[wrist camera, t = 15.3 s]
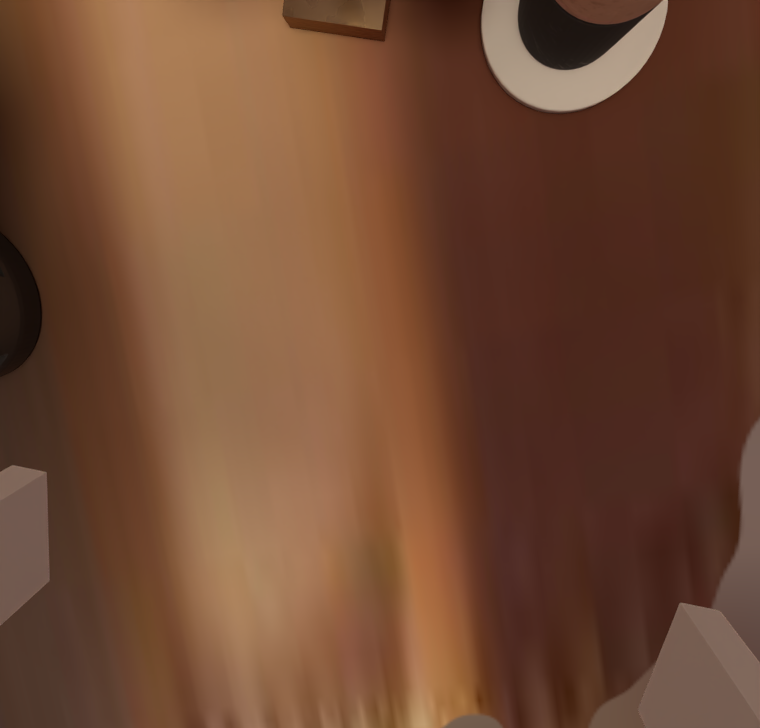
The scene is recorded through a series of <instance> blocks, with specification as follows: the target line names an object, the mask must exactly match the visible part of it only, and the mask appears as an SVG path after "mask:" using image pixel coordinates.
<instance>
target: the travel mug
mask: <svg viewBox="0 0 760 728" xmlns="http://www.w3.org/2000/svg"><path fill="white" fill-rule="evenodd" d="M662 1H663V0H520V1H519V7H518V28H519V32H520V36H521V39H522V41H523V44H524V45H525V47H526V49H527V50H528V52H529V53H530V54H531V55H532V56H533V57H534V59H536V60H537V61H538V62H540V63H541V64H543V65H545V66H547V67H550V68H553V69H558V70H572V69H577V68H581V67H584V66H586V65H588V64H590V63H592V62H594V61H595V60H597V59H598V58H600V57H601V56H602V55H604V54H605V53H606V52H607V51H608V50H609V49H610V48H612V47H613V46H614V45H615V44H616V43H617V42H618V41H619V40H620V39H622V38H623V37H624V36H625V35H626V34H627V33H628V32H629V31H630V30H631V29H632V28H634V27H635V26H636V25H637V24H638V23H639V22H640V21H641V20H642V19H643V18H644V17H646V16H647V15H648V14H649V13H650V12H651V11H652V10H653V9H654V8H655V7H656V6H657V5H659V4H660V3H661V2H662Z"/></svg>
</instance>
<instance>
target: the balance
mask: <svg viewBox="0 0 760 728" xmlns="http://www.w3.org/2000/svg"><path fill="white" fill-rule="evenodd" d="M389 6H390V0H284V5H283V17H284V19H285V20H286V22H287V23H288V24H289V26H290V27H291V28H298V29H305V30H311V31H318V32H325V33H332V34H338V35H345V36H352V37H359V38H366V39H372V40H379V41H384V40H385V33H386V26H387V20H388V13H389Z"/></svg>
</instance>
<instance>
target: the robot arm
mask: <svg viewBox="0 0 760 728" xmlns="http://www.w3.org/2000/svg"><path fill="white" fill-rule="evenodd" d="M40 321H41V310H40V301H39V296H38V292H37V288H36V285H35V282H34V280H33V277H32V275H31V273H30V271H29V269H28V267H27V265H26V263H25V262H24V260H23V258H22V257H21V256H20V254H19V253H18V251H17V250H16V249H15V248H14V247H13V245H12V244H11V243H10V242H9V241H8V240H7V239H6V238H5V237H4V236H3V235H1V234H0V376H2V375H5V374H7V373H9V372H11V371H13V370H14V369H16V368H17V367H18V366H20V365H21V364H22V363H23V362H24V361H25V360H26V358H27V357H28V356H29V354H30V353H31V351H32V349H33V348H34V345H35V343H36V341H37V338H38V334H39V329H40ZM49 581H50V580H49V541H48V503H47V472H43V471H39V470H34V469H29V468H24V467H19V466H14V465H12V466H10V467H8V468H6V469H5V470H3V471H1V472H0V625H1V624H2V623H4V622H5V621H6V620H7V619H8V618H9V617H10V616H11V615H12V614H14V613H15V612H16V611H17V610H18V609H19V608H20V607H21V606H22V605H23V604H25V603H26V602H27V601H28V600H29V599H30V598H31V597H32V596H33V595H34V594H36V593H37V592H38V591H39V590H40V589H41V588H42V587H43V586H44V585H46V584H47V583H48V582H49ZM638 712H639V714H640V717H641V719H642V721H643V724H644V726H645V728H760V662H759V661H758V660H757V659H756V657H755V656H754V655H753V653H752V652H751V651H750V649H749V648H748V647H747V645H746V644H745V643H744V641H743V640H742V639H741V638H740V636H739V635H738V634H737V632H736V631H735V630H734V628H733V627H732V626H731V625H730V623H729V622H728V620H727V619H726V618H725V617H724V615H723V614H722V613H721V611H719V610H714V609H709V608H704V607H699V606H695V605H690V604H685V603H680V604H679V606H678V609H677V612H676V614H675V617H674V619H673V622H672V624H671V627H670V629H669V632H668V634H667V637H666V639H665V642H664V644H663V647H662V649H661V652H660V654H659V657H658V659H657V662H656V664H655V667H654V670H653V672H652V675H651V677H650V680H649V682H648V685H647V687H646V690H645V692H644V695H643V698H642V700H641V702H640V705H639V707H638Z"/></svg>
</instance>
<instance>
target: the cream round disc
mask: <svg viewBox="0 0 760 728" xmlns="http://www.w3.org/2000/svg"><path fill="white" fill-rule="evenodd" d="M519 1H520V0H484V2H483V6H482V14H481V41H482V47H483V52H484V56H485V59H486V61H487V64H488V67H489V69H490V71H491V73H492V75H493V76H494V78H495V79H496V81H497V82H498V84H499V85H500V86H501V88H502V89H503V90H504V91H505V92H506V93H507V94H508V95H509V96H511V97H512V98H513V99H515V100H516V101H517V102H519V103H521V104H523V105H524V106H526V107H529V108H531V109H534V110H537V111H541V112H546V113H556V114H560V113H571V112H576V111H581V110H584V109H587V108H590V107H592V106H594V105H596V104H598V103H600V102H602V101H604V100H606V99H607V98H609V97H610V96H612V95H613V94H614V93H616V92H617V91H618V90H620V89H621V88H622V87H623V86H624V85H626V84H627V83H628V82H629V81H630V80H631V79H632V78H633V77H634V76H635V75H636V74H637V73H638V72H639V71H640V69H641V68H642V67H643V65H644V64H645V63H646V61H647V60H648V58H649V57H650V55H651V53H652V52H653V50H654V48H655V46H656V44H657V42H658V39H659V37H660V34H661V31H662V29H663V26H664V22H665V17H666V13H667V6H668V0H663V1H662V2H661V3H660V4H659V5H657V6H656V7H655V8H654V9H653V10H652V11H651V12H650V13H649V14H648V15H647V16H646V17H644V18H643V19H642V20H641V21H640V22H639V23H638V24H637V25H636V26H635V27H634V28H632V29H631V30H630V31H629V32H628V33H627V34H626V35H625V36H624V37H623V38H622V39H620V40H619V41H618V42H617V43H616V44H615V45H614V46H613V47H612V48H610V49H609V50H608V51H607V52H606V53H605V54H604V55H602V56H601V57H600V58H598V59H597V60H595V61H594V62H592V63H590V64H588V65H586V66H584V67H581V68H577V69H572V70H558V69H553V68H550V67H547V66H545V65H543V64H541V63H540V62H538V61H537V60H536V59H534V57H533V56H532V55H531V54H530V53H529V52H528V50H527V49H526V47H525V45H524V44H523V41H522V39H521V36H520V32H519V28H518V7H519Z"/></svg>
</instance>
